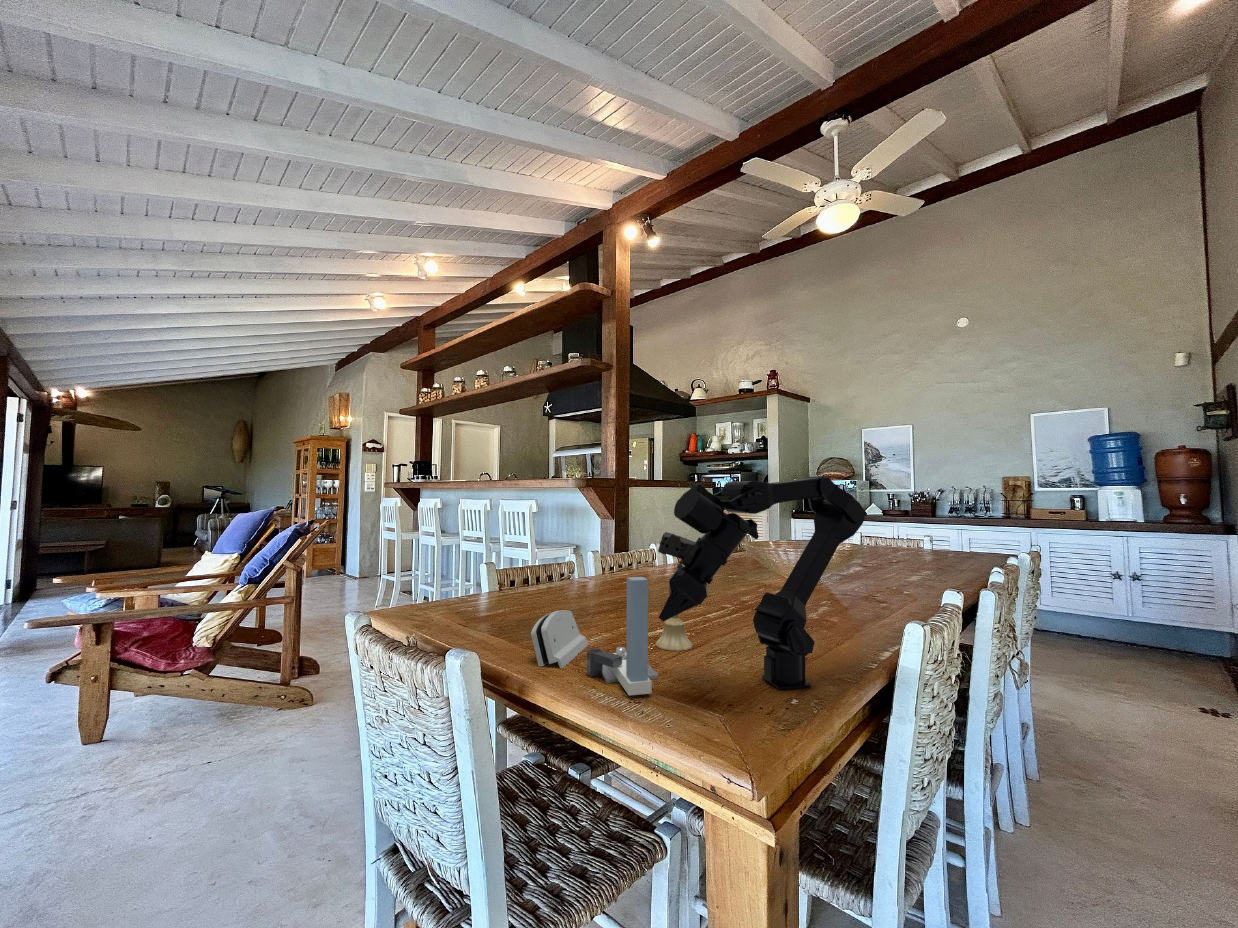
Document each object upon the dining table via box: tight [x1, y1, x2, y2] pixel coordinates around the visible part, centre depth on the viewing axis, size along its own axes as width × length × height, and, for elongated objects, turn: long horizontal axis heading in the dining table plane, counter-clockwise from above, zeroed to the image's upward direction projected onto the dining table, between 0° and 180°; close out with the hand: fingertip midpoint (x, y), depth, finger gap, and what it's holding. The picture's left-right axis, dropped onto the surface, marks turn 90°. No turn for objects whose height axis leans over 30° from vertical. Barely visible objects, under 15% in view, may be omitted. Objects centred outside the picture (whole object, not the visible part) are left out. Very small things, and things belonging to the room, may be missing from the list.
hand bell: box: [655, 584, 693, 652], centre depth 116 cm, size 8×8×16 cm
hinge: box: [530, 609, 589, 669], centre depth 110 cm, size 17×5×10 cm, turn 165°
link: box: [610, 576, 653, 696], centre depth 95 cm, size 16×4×19 cm, turn 14°
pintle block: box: [586, 646, 659, 684], centre depth 98 cm, size 13×11×4 cm
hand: (664, 611), depth 92 cm, fingers open, 9 cm apart
